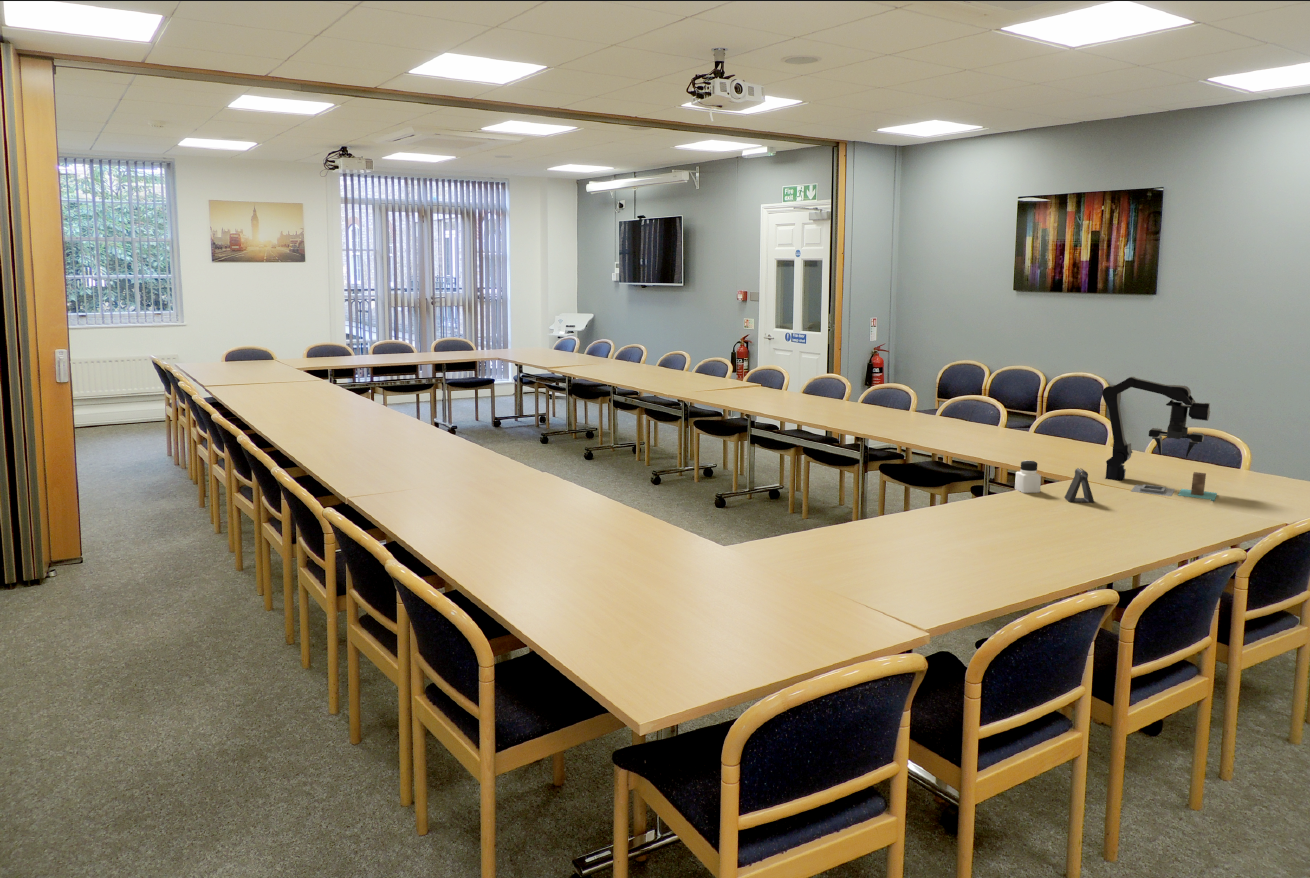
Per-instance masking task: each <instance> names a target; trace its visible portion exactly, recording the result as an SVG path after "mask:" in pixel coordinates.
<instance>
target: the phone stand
mask: <svg viewBox="0 0 1310 878" xmlns="http://www.w3.org/2000/svg"><path fill="white" fill-rule="evenodd" d="M1088 478H1089V474H1088V472H1087V471H1086V470H1084V469H1083V468H1081V467H1080V468H1079V467H1077V468H1075V470H1074V477H1073V478H1072V481H1071V483H1070V485H1069V487H1068V490H1067V491H1066V493H1065V495H1064V499H1065V500H1066V501H1068V502H1069V503H1079V504H1081V503H1086V504H1094V503H1095V499H1094V496H1093V493H1092V490H1091V485H1090V484H1089V483H1090V482H1089V480H1088ZM1080 487H1082V493H1083V497H1077V494H1078V492H1079V489H1080Z"/></svg>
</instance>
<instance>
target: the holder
mask: <svg viewBox="0 0 1310 878" xmlns="http://www.w3.org/2000/svg"><path fill="white" fill-rule="evenodd" d="M1175 491H1176V488H1172V487H1171V488H1170V487H1169V488H1168V487H1166V486H1159V485H1152V484H1135V485H1134V486H1133V487H1132V489H1131V490H1130V492H1133V493H1139V494H1149V495H1157V496H1166V497H1172V496H1173V494H1174V493H1175Z"/></svg>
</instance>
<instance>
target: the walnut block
mask: <svg viewBox="0 0 1310 878" xmlns="http://www.w3.org/2000/svg"><path fill="white" fill-rule="evenodd" d="M1206 477H1207V473H1206V472H1197V471H1196V472H1195V471H1194V472H1193V474H1192V482H1191V489H1190V490H1191V494H1193V495H1202V496H1203V494H1204V491H1205V486H1206Z"/></svg>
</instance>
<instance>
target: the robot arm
mask: <svg viewBox="0 0 1310 878" xmlns="http://www.w3.org/2000/svg"><path fill="white" fill-rule="evenodd" d="M1130 388H1134V389H1138V390H1142V391H1146V392H1150V393H1151V392H1152V393H1156V394H1159V395H1163V396H1165V397H1167V398H1168V399H1171V400H1169V401H1168V402H1167V403H1166V404H1165V406H1167V407H1171V408H1170V415H1169V422H1168V423H1169V424H1168V426H1167V430H1166V431H1165V430H1163V429H1162V428H1158V427H1157V428H1156V427H1155V428H1154V427H1152V428H1151V429H1150V430H1149V431H1148V437H1149V438H1152V440H1154V441H1155V443H1156V445H1157V450H1158V453H1159V455H1162V453H1163V437H1166V438H1167V439H1175V440H1181V439H1186V440H1187V439H1189V440H1190V441H1189V443H1188V446H1187V451H1186V454H1185V457H1186V458H1185V459H1187V458H1188V457H1189V455H1190V453H1191V451H1192V449H1193V448H1194V446H1195V445H1198V444H1199V443H1203V442H1204V440H1205V434H1204V433H1202V432H1192V433H1191V434H1190V433H1188V432H1189V431H1188V430H1189V429H1188V427H1187V426H1186V425H1187V418H1188V417H1190V419H1191V420H1195V421H1196V420H1197V421H1209V420H1210V416H1211V415H1210V414H1211V411H1210V410H1211V403H1209V402H1203V403H1202V402H1196V401H1195V399H1194V398H1193V396H1192V392H1191V389H1190V387H1188V386H1186V385H1180V384H1164V383H1159V382H1157V381H1156V382H1155V381H1150V380H1146V379H1141V378H1138V377H1136V376H1129V377H1128V378H1126V379H1125V380H1123V381H1120V382H1119V383H1116V384H1111V385H1108V386H1106V387H1104V389H1102V392H1101V395H1102V398H1103V401H1104V403H1105V405H1106V406H1107V409H1108V415H1109V421H1110V426H1111V432H1112V439H1113V444H1112V453H1111V454H1112V456H1111V457H1110V458H1108V459H1107V460H1106V461H1105V463H1106V468H1105V469H1106V470H1105V477H1104V479H1105V480H1112V481H1121V482H1122V481H1123V480H1125V479H1126V471H1127V470H1126V468H1125V463H1126V462H1128V461H1129V460H1130V458H1132V454H1133V453H1134V452H1133V450H1132V443H1127V441H1126V437H1125V431H1124V426H1123V425H1124V423H1123V419H1122V412H1121V407H1120V406H1121V400H1122V399H1121V398H1122V393H1123V392H1125V391H1127V390H1128V389H1130Z"/></svg>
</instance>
